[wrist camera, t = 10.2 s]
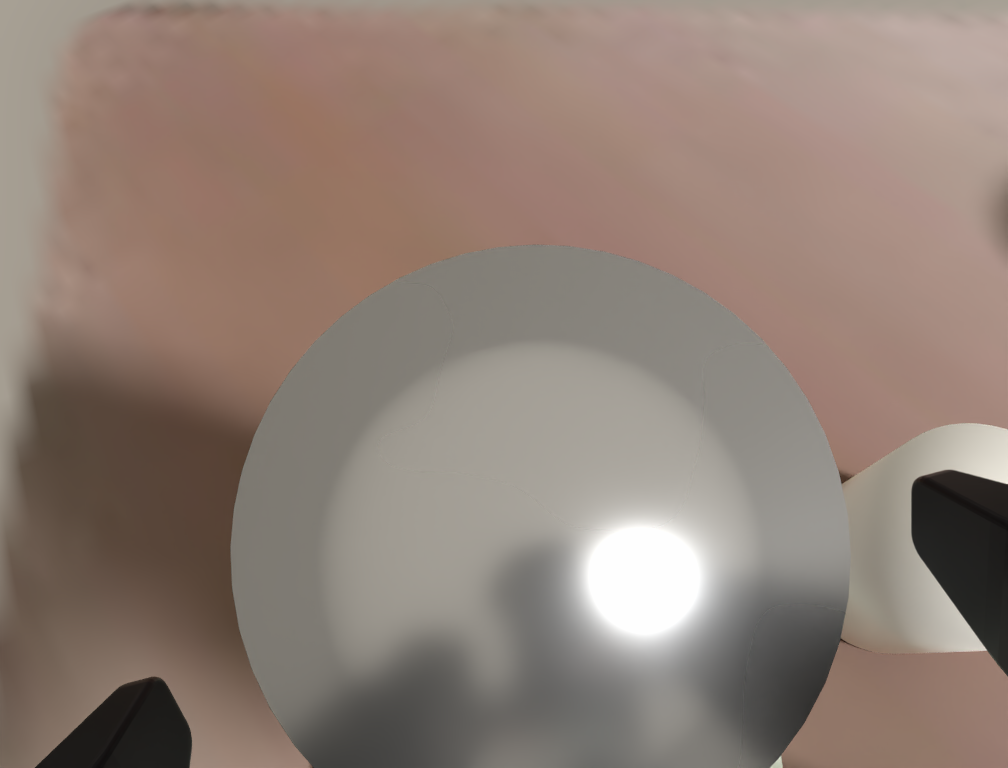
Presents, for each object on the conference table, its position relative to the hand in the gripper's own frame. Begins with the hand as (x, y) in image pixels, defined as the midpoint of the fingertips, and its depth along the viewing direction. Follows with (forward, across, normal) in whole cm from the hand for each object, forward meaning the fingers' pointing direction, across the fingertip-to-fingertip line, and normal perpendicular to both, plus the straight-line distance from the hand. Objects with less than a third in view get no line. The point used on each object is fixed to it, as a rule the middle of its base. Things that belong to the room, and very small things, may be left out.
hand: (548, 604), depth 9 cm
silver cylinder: (+7, 0, +6) cm, 9 cm away
